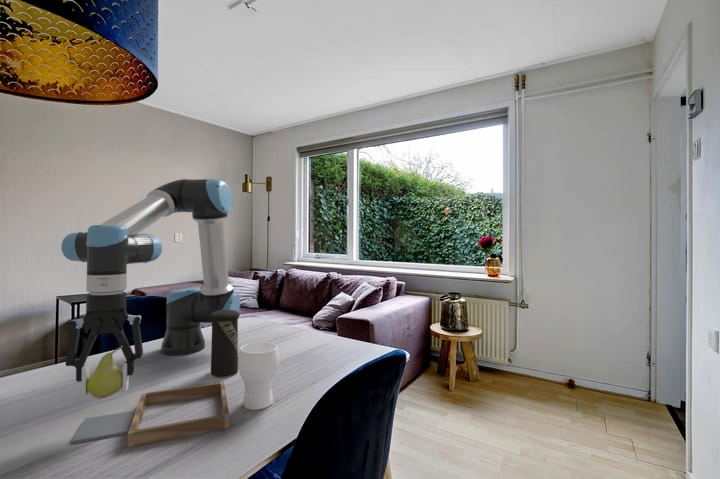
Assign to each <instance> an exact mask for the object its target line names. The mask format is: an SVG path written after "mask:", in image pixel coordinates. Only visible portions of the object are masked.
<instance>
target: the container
mask: <svg viewBox="0 0 720 479" xmlns="http://www.w3.org/2000/svg"><path fill="white" fill-rule="evenodd" d="M240 315H241V314H240V311H235V310H221V311H216V312H213V313H212V314H211V315H210V318H211V320H212V323H211V347H210V348H211V350H210V351H211V353H210V376H212V377H215V378H216V377H217V378H226V377H230V376H234V375H236V374H237V373H238V372H239V369H238V356H239V339H238V338H239V333H238V332H239V330H238V329H239V328H238V326H239V324H238V323H239V321H238V320H239V318H240Z"/></svg>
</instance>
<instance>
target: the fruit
mask: <svg viewBox="0 0 720 479" xmlns="http://www.w3.org/2000/svg"><path fill="white" fill-rule="evenodd" d="M121 348H123V346H122V345H121V346H120V345H119V347H118V348H116V349H114V350H113V351H111V352H107V353H106V354H104V355H103V356H102V357H101V359H100V360H99V363H98V364H97V366H96V368H95V370H94V371H93V372H92V374H91V375H89V379H88V381H87V390H88V392H89V393H88V394H90V395H91V397H93V398H96V399H105V398H109V397H110V396H112V395H114V394H116V393H118V391H120V390H121V389H122V388H123V371H121V369H119V368H118V366H116V365H115V363H114V359H113V354H114V353H115V352H117V351H119V350H122V349H121Z"/></svg>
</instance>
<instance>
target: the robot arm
mask: <svg viewBox="0 0 720 479" xmlns="http://www.w3.org/2000/svg"><path fill="white" fill-rule="evenodd" d="M233 204H234V200H233V193H232V191H231V189H230V187H229V185H228V184H227V183H226V182H225V181H224V180H220V179H211V178H209V179H208V178H207V179H204V178H203V179H198V178H197V179H188V178H185V179H184V178H181V179H177V180H173V181H170V182H167V183H164V184H162V185H160V186H158V187H155V188H154V189H153V190H150V191H149V192H148V193H147V194H146V197H145V198H144V199H142V200H140V201H138V202H137V203H135V204H133V205H132V206H129V207H128V208H126V209H125V210H122V211H121V212H119V213H118V214H116V215H114V216H112V217H111V218H109V219H107V220H106V221H103V222H102V223H100V224H93V225H90V226H89V227H88V228H87V231H85V232H82V231H77V232H71V233H69V234H67V235H65V236H64V238H63V239H62V242H61V245H60V246H61V248H60V249H61V252H62V254H63V256H64V258H66V259H67V260H68V261H73V262H81V263H86V278H85V279H86V285H85V286H86V290H85V291H86V292H87V293H88V294H87V295H86V297H85V298H86V299H85V309H86V310H85V315H84V316H83V317H82V318H74V319H72V320H70V321H68V323H67V325H68V328H69V338H68V344H67V351H66V356H65V358H66V359H65V363H64V364H65V366H66V367H74V368H75V372H76V373H75V381H76V382H77V383H81V398H85V397H87V396H88V394H90V393H89V392H88V390H87V381H88V379H89V377H90V363H86V362H87V359H88V358H89V357H88V356H90V353H91V350H92V348H93V346H94V343H95V341H96V339H97V337H98V335H102V334H113V335H114V337H115V338H116V341H117V343H118V345H119V347H120V346H121V345H122V346H123V348H121V349H120V350H121V352H122V353H123V356H124V358H125V359H124V361H123V363H122V373H123V386H122V393H123V392H124V393H125V392H127V390H128V389H129V384H130V383H129V380H130V379H129V378H130V376H133V373H134V371H135V361H136V360H139V359H141V358H142V356H143V354H144V350H143V340H142V333H141V326H140V325H141V320H142V318H143V317H142V315H141V314H138V315H133V314H129V312H128V310H127V293H126V291H125V290H126V289H127V287H128V285H127V283H128V282H127V279H128V278H127V276H128V273H127V272H128V271H127V266H128V265H129V264H131V265H132V264H142V263H143V264H144V263H145V264H147V263H149V262H153V261H156V260H157V259H158V258H159V257H160V256H161V254H162V251H163V244H162V242H161V239H160V238H159V237H158V236H156V235H154V234H151V233H141V232H143V231H144V230H146V228H148V227H150V226H151V225H153V224H154V223H155V222H156V221H158V220H159V219H162V217H166V218H167V217H169V216H171V215H173V214H175V213H191V214H192V219H193V221H195V222H196V223H197V228H198V239H199V248H200V258H201V268H202V277H203V278H202V279H203V287H202V288H201V287H199V286H198V287H197V286H196V287H187V288H182V289H181V288H180V289H175V290H171V291H169V292H168V293H167V296H166V303H165V304H166V330H165V334H164V337H163V339H162V342H161V345H160V352H161V353H162V354H164V355H168V356H182V355H183V356H184V355H188V354H195V353H197V352H200V351H202V350H203V349H205V347H206V346H205V345H206V340H205V337H204V334H203V331H202V329H201V324H212V320H211V318H210V315H211V314H212V313H213V312H216V311H221V310H235V311H238V312H240V308H241V295H240V294H239V293H238V292H235V290H234V286H233V285H232V284H231V283H229V274H228V272H229V271H228V258H227V248H226V235H225V234H226V233H225V224H224V222H225V221H226V219H227V218H228V213H229V214H230V213H231V211H232V209H233ZM127 321H129V325H131V327H132V328H131V330H132V331H131V332H132V337H133V346H134V352H133V350H132V347H131V346H130V343H129V341H128V338H127V336H126V334H125V331H124V330H125V329H124V328H123V325H124V324H125V322H127ZM83 324H85V325H86V326H87V327H88V328H89V329H90V331H89V334H88V336H87V339H86V341H85V343H84V346H83V347H82V350H81V352H80V355H79V356H78V358H77V353H78V347H79V341H80V334H81V328H83V326H84V325H83Z"/></svg>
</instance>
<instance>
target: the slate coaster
mask: <svg viewBox="0 0 720 479" xmlns="http://www.w3.org/2000/svg"><path fill="white" fill-rule="evenodd" d="M135 412H136V410H130V411H123V412H117V413H112V414H105V415H99V416H92V417H91V416H90V417H86V418H85V419H84V421H83V422H82V423H81V425H80V427H79V429H77V432H76V433H75V435H74V437H73V438H72V440H71V444H73V443H74V444H78V443H85V442H89V440H90V441H95V439H96V440H100V438H101V439H107V438H112V437H117V435H118V436H122V435H123V434H124V435H128V432H129V429H130V426H131V423H132V421H133V418H134V415H135ZM111 436H112V437H111ZM106 437H107V438H106ZM84 441H85V442H84Z"/></svg>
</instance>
